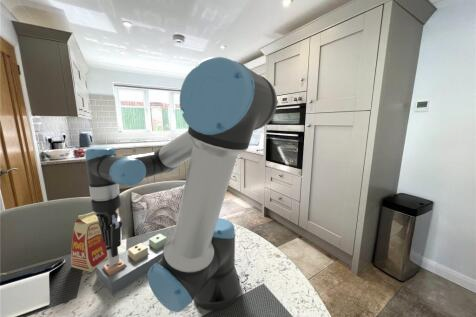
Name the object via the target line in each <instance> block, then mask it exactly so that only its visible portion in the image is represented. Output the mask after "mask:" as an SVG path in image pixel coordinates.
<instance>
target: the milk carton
mask: <svg viewBox="0 0 476 317" xmlns="http://www.w3.org/2000/svg"><path fill="white" fill-rule="evenodd" d="M96 215H97V213H96V212H94V211H92V212H89V213H85V214H81V215H77V217H78V218H77V220H76V221H75V222H74V227H73V233H72V238H71V251H70V259H71V261H70V262H71V268H74V269H77V270H78V269H79V270H82V271H87V272H91V273H92V272H93V271H94V270H96V266H97V265H99V264H101V263H103V262H105V261H107V260H108V256H107V250H106V247H107V246H106V245H105V242H103V239H102V235H101V230H100V225H99V221H98V218H97V216H96Z"/></svg>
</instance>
